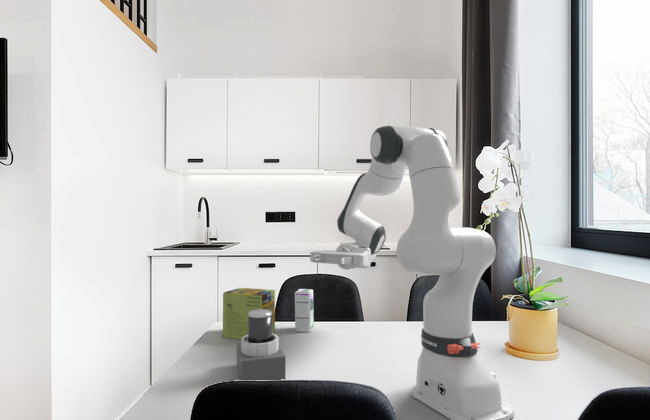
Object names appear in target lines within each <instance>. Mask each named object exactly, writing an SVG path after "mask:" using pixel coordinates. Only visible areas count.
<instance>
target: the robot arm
mask: <svg viewBox="0 0 650 420" xmlns="http://www.w3.org/2000/svg"><path fill="white" fill-rule="evenodd" d="M369 148H370V154H371V157H372V159H371V162H370V164H369V165H370V166H369V168H368V171H367V172H365V173H362V174H361V175H360V176H359V177H358V178H356V179H357V180H355V183H354V184H353V187H352V189H351V191H350V192H349V193H350V194H349V196H348V198H347V199H346V203H345V204H344V207H343V209H342V211H341V212H340V214H339V215H338V218H337V220H336V225H337V229H338V231H339V233H342V234H343V235H346V236H347V237H350V238H351V239H353V240H354V242H349V243H348V242H347V243H342V244H340V245H339V246H338V247H337V248H336V249H335V250H312V251H310V256H309V259H310V260H309V261H310V262H311V263H314V264H315V263H317V264H318V263H319V264H328V265H337V266H338V267H340V269H342V270H346V271H348V270H351V269H353V270H354V269H361V268H362V269H364V268H365V269H366V268H371V264H372V262H373V261H374V260H375V259H376V257H377V254H378V253H379V251H380V250H381V249H382V248H383V246H384V244H385V243H386V238H387V237H386V235H387V234H386V229H385V227H384V225H382V224H381V223H379V222H377V221H376V220H374V219H372V218H370V217H369V216H367V215H365V214H364V213H362V211H360V207H361V205H362V202H363V200H364V198H365V197H366V195H372V196H378V197H379V196H380V197H382V196H388V195H390V194H393V193H395V192H396V191H397V190H398V189H400V186H401V184H402V182H403V178H404V176H405V172H406V170H407V169H406V168H407V167H408V175H409V180H410V185H411V186H410V187H411V193H412V201H413V212H412V213H413V214H412V218H411V222H410V223H409V226H408V228H407V229H406V230H405V232H404V233H403V234H401V235H400V237H399V239H398V241H397V244H396V245H397V246H396V256H397V257H396V258H397V261H398V263H399V264H400V266H401V267H402V268H403V269H404V271H406V273H407V272H408V273H412V274H417V275H424V276H432V275H439V277H438V280H437V282H436V284H435V285H434V287H432V289H429V291H428V292H426V294H425V295H424V298H423V300H422V302H423V305H422V306H423V309H422V310H423V311H422V312H423V314H422V315H423V316H422V317H423V320H422V321H423V325H422V326H423V327H422V329H421V334H420V339H421V341H420V342H421V345H422V349H421V353H420V354H419V357H418V359H417V366H416V367H417V368H416V379H415V387H414V388H413V389H412V390H411V396H412V397H413V398H414V399H416V400H418V401H420V402H421V403H423V404H424V405H426V406H428V407H430V408H431V409H433V410H434V411H436V412H438V413H439V414H441V415H442V416H444V417H446V419H447V418H448V419H449V420H511V419H513V417H514V416H515V411H514V408H512V407H511V406H510V405H508V403H506V402H505V401H504V400H503V399H502V393H501V391H502V390H501V388H500V387H501V386H500V384H499V381H498V380H497V377H496V374H495V372H493V371H491V370H490V369H489V368H488V366H487V365H486V363H485V362H484V361H483V359H482V358H481V356H480V355H479V353H478V351H479V350H478V349H480V348H481V346H478V345H481V342H476V339H475V335H474V333H473V332H472V331H473V325H472V324H473V303H474V298H475V293H476V290H477V287H478V284H479V282H480V280H481V278H482V276H483V274H484V273H485V271H486V270H487V269H488V268H489V267H490V266H491V265H492V263H494V260H495V259H496V254H497V247H496V243H495V240H494V239H493V237H492V235H490V234H489V233H488V232H486V231H484V230H481V229H476V228H473V227H450V225H449V214H450V213H451V212H452V211H453V210H454V209H455V208H457V206H458V204H459V203H460V198H461V195H460V190H459V186H458V181H457V176H456V171H455V168H454V164H453V159H452V157H451V154H450V151H449V149H448V140H447V137H446V135H445V134H444V133H443V132H442V131H441V130H439V129H437V128H436V129H435V128H432V127H428V128H426V127H420V126H412V125H396V126H395V125H394V126H391V125H384V126H380V127H378V128H376V129H375V130H374V132H373V133H372V134H371V138H370V146H369Z"/></svg>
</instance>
